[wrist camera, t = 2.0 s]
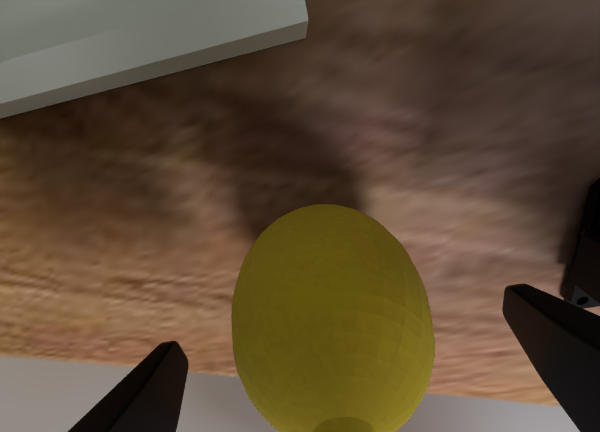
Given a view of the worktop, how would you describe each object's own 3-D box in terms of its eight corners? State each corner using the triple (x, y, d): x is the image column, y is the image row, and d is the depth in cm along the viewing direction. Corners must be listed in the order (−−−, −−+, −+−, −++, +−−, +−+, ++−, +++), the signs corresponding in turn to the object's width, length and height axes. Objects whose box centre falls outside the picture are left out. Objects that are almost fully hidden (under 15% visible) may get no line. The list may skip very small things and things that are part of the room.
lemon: (344, 146, 11) (444, 293, 3) (403, 252, 13) (542, 484, 5) (227, 216, 12) (115, 433, 5) (298, 302, 14) (297, 545, 7)
